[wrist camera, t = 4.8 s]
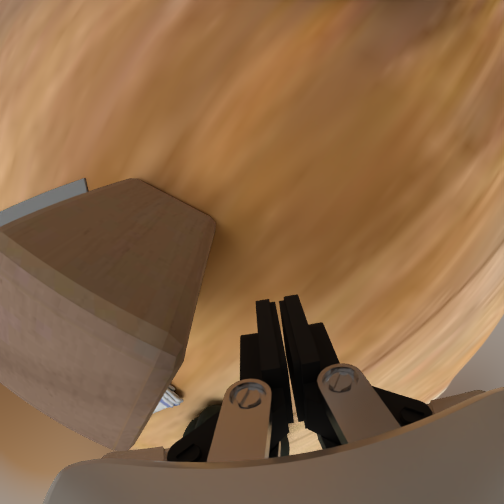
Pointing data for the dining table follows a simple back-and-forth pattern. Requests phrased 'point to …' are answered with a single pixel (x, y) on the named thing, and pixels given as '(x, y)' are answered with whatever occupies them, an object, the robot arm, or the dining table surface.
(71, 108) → the dining table surface
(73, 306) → the wooden block
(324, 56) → the dining table surface
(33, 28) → the dining table surface
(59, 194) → the mat
